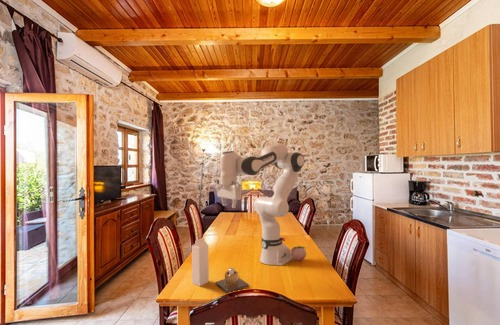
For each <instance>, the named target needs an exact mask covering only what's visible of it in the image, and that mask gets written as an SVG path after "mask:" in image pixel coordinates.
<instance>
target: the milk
mask: <svg viewBox="0 0 500 325" xmlns="http://www.w3.org/2000/svg"><path fill="white" fill-rule="evenodd" d="M209 276H210V271H209V244H208V243H207V242H206V241H205V237H203V238H199V239H196V240H195V243H194V244H192V245H191V282H192V284H194V285H196V286H198V287H201V286H204V285H205V284H207V283H209V281H210V279H209V278H210V277H209Z"/></svg>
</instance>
